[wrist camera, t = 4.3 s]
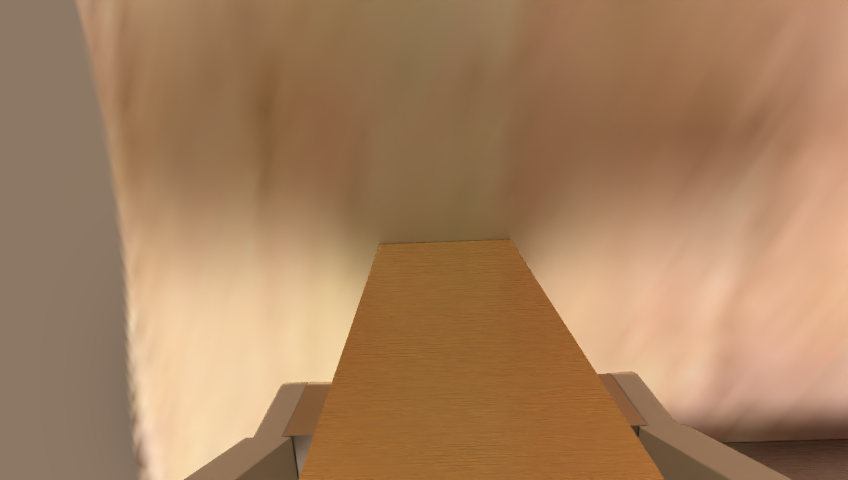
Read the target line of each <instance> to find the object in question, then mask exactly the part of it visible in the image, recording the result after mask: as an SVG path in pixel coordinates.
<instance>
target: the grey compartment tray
mask: <svg viewBox="0 0 848 480" xmlns="http://www.w3.org/2000/svg"><path fill="white" fill-rule="evenodd" d="M722 444H724V445H726V446H728V447H730V448H732V449H734V450H736V451H738V452H740V453H742V454H743V455H745V456H747V457H749V458H751V459H753V460H755V461H757V462H759V463H761V464H763V465H765V466H767V467H769V468H770V469H772V470H774V471H776V472H778V473H780V474H782V475H784V476H786V477H788V478H790V479H792V480H848V440H819V441H784V442H750V443H722Z"/></svg>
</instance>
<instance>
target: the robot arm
mask: <svg viewBox="0 0 848 480" xmlns="http://www.w3.org/2000/svg"><path fill="white" fill-rule="evenodd" d="M597 375H598V376H599V378H600V379H601V381H602V383H603V384H604V386H605V387H606V389H607V390H608V392H609V393H610V395H611V397H612V398H613V400H614V401H615V403H616V404H617V406H618V407H619V409H620V411H621V412H622V414H623V415H624V417H625V418H626V420H627V421H628V423H629V425H630V426H631V428H632V429H633V431H634V432H635V434H636V435H637V437H638V439H639V440H640V442H641V443H642V445H643V446H644V448H645V449H646V451H647V452H648V454H649V456H650V457H651V459H652V460H653V462H654V463H655V465H656V466H657V468H658V470H659V471H660V473H661V474H662V476H663V477H664V479H665V480H792V479H790V478H788V477H786V476H784V475H782V474H780V473H778V472H776V471H774V470H772V469H770V468H769V467H767V466H765V465H763V464H761V463H759V462H757V461H755V460H753V459H751V458H749V457H747V456H745V455H743V454H742V453H740V452H738V451H736V450H734V449H732V448H730V447H728V446H726V445H724V444H722V443H720V442H718V441H716V440H715V439H713V438H711V437H709V436H707V435H705V434H703V433H701V432H699V431H697V430H695V429H693V428H691V427H690V426H688V425H678V424H677V423H676V422H675V420H674V419H673V418H672V417H671V415H670V414H669V413H668V412H667V411H666V409H665V408H664V407H663V406H662V404H661V403H660V402H659V401H658V399H657V398H656V397H655V396H654V394H653V393H652V392H651V391H650V389H649V388H648V387H647V386H646V384H645V383H644V382H643V381H642V380H641V378H640V377H639V376H638V375H637V374H636V373H634V372H618V373H607V374H597ZM331 384H332V382H310V383H308V382H297V383H285V384H283V385H282V386H281V387H280V388H279V390H278V392H277V394H276V396H275V398H274V400H273V402H272V403H271V405H270V407H269V409H268V411H267V413H266V415H265V417H264V419H263V420H262V422H261V424H260V426H259V428H258V430H257V432H256V434H255V435H254V437H253V438H245V439H243V440H242V441H240V442H239V443H237V444H236V445H234V446H233V447H232V448H230V449H229V450H227V451H226V452H224V453H223V454H221V455H220V456H218V457H217V458H215V459H214V460H212V461H211V462H209V463H208V464H206V465H205V466H203V467H202V468H200V469H199V470H197V471H196V472H195V473H193V474H192V475H190V476H189V477H187V478H186V479H184V480H298V479H299V477H300V474H301V471H302V468H303V465H304V462H305V459H306V456H307V453H308V450H309V448H310V445H311V442H312V439H313V436H314V433H315V430H316V427H317V424H318V421H319V419H320V416H321V413H322V410H323V407H324V404H325V401H326V398H327V395H328V392H329V390H330V387H331Z"/></svg>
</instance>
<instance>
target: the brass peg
mask: <svg viewBox="0 0 848 480" xmlns="http://www.w3.org/2000/svg"><path fill="white" fill-rule="evenodd" d="M298 480H665V479H664V477H663V476H662V474H661V473H660V471H659V470H658V468H657V466H656V465H655V463H654V462H653V460H652V459H651V457H650V456H649V454H648V452H647V451H646V449H645V448H644V446H643V445H642V443H641V442H640V440H639V439H638V437H637V435H636V434H635V432H634V431H633V429H632V428H631V426H630V425H629V423H628V421H627V420H626V418H625V417H624V415H623V414H622V412H621V411H620V409H619V407H618V406H617V404H616V403H615V401H614V400H613V398H612V397H611V395H610V393H609V392H608V390H607V389H606V387H605V386H604V384H603V383H602V381H601V379H600V378H599V376H598V375H597V373H596V372H595V370H594V369H593V367H592V365H591V364H590V362H589V361H588V359H587V358H586V356H585V355H584V353H583V351H582V350H581V348H580V347H579V345H578V344H577V342H576V341H575V339H574V338H573V336H572V334H571V333H570V331H569V330H568V328H567V327H566V325H565V324H564V322H563V320H562V319H561V317H560V316H559V314H558V313H557V311H556V310H555V308H554V306H553V305H552V303H551V302H550V300H549V299H548V297H547V296H546V294H545V292H544V291H543V289H542V288H541V286H540V285H539V283H538V282H537V280H536V278H535V277H534V275H533V274H532V272H531V271H530V269H529V268H528V266H527V264H526V263H525V261H524V260H523V258H522V257H521V255H520V254H519V252H518V250H517V249H516V247H515V246H514V244H513V243H512V241H511V240H510V239H508V240H481V241H455V242H428V243H402V244H380V245H379V247H378V250H377V253H376V256H375V259H374V262H373V265H372V268H371V271H370V274H369V276H368V279H367V282H366V285H365V288H364V291H363V294H362V297H361V300H360V303H359V305H358V308H357V311H356V314H355V317H354V320H353V323H352V326H351V329H350V332H349V334H348V337H347V340H346V343H345V346H344V349H343V352H342V355H341V358H340V361H339V363H338V366H337V369H336V372H335V375H334V378H333V381H332V384H331V387H330V390H329V392H328V395H327V398H326V401H325V404H324V407H323V410H322V413H321V416H320V419H319V421H318V424H317V427H316V430H315V433H314V436H313V439H312V442H311V445H310V448H309V450H308V453H307V456H306V459H305V462H304V465H303V468H302V471H301V474H300V477H299V479H298Z"/></svg>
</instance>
